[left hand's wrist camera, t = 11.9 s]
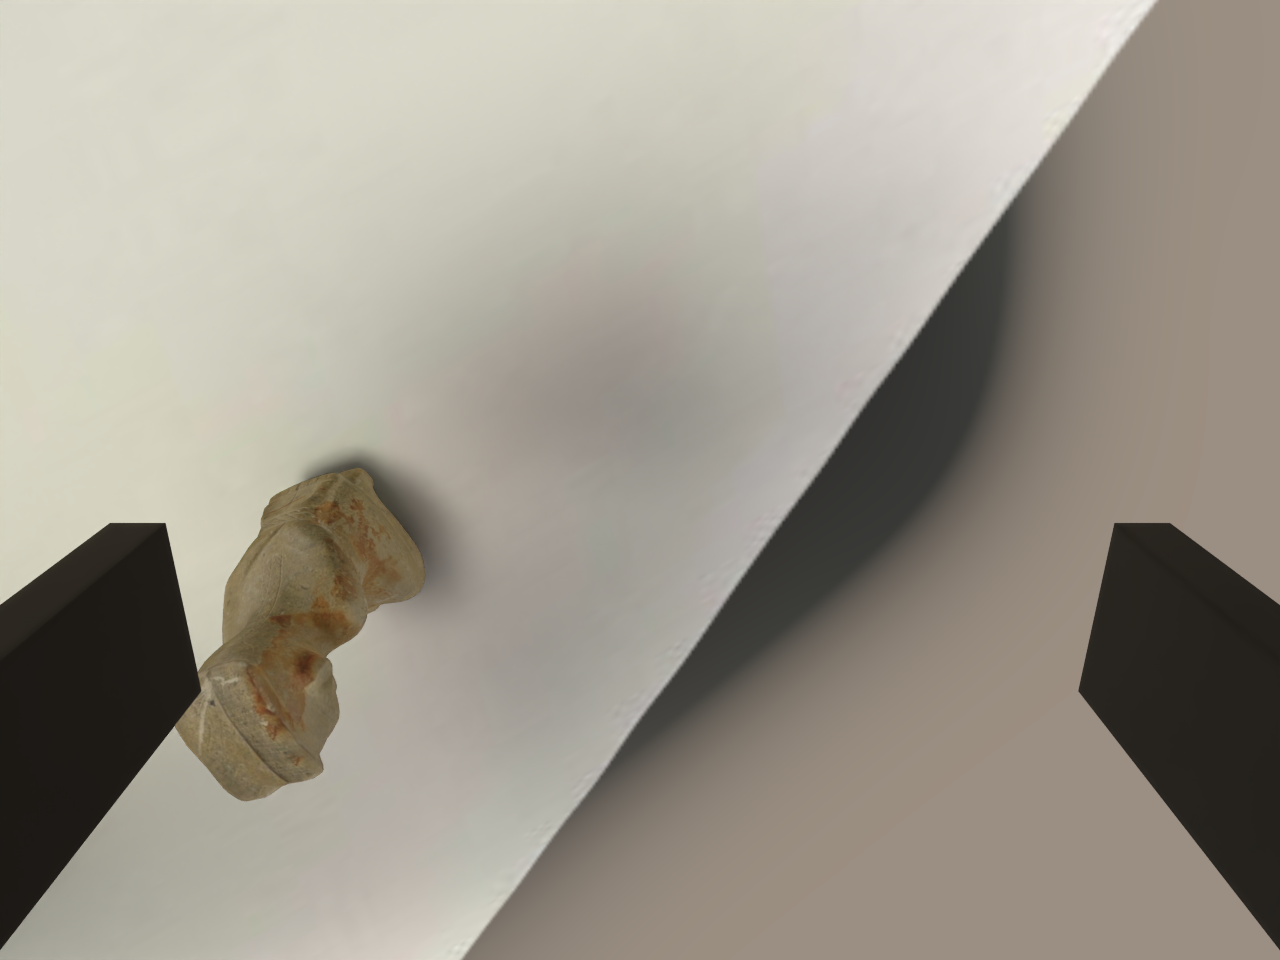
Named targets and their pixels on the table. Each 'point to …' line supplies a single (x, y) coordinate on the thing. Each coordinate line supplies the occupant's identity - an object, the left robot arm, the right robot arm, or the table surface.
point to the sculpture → (295, 630)
